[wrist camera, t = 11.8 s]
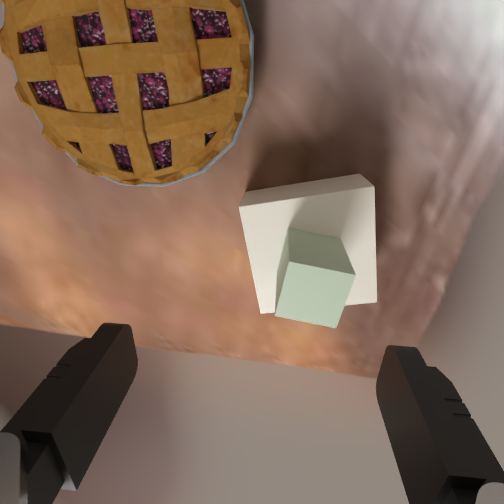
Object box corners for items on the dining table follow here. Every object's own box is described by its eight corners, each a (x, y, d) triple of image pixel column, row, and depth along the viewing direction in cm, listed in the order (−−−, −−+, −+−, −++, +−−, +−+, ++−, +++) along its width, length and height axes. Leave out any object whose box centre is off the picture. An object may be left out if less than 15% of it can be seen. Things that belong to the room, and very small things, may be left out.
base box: (245, 190, 34) (238, 207, 29) (358, 172, 32) (374, 186, 27) (263, 284, 39) (260, 313, 34) (363, 273, 37) (376, 302, 32)
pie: (-16, -55, 27) (-75, -87, 22) (234, -128, 24) (223, -182, 19) (82, 193, 36) (54, 206, 31) (272, 165, 33) (271, 174, 28)
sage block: (287, 227, 29) (289, 261, 23) (340, 238, 29) (356, 275, 23) (276, 273, 31) (274, 315, 25) (325, 283, 31) (335, 328, 25)
